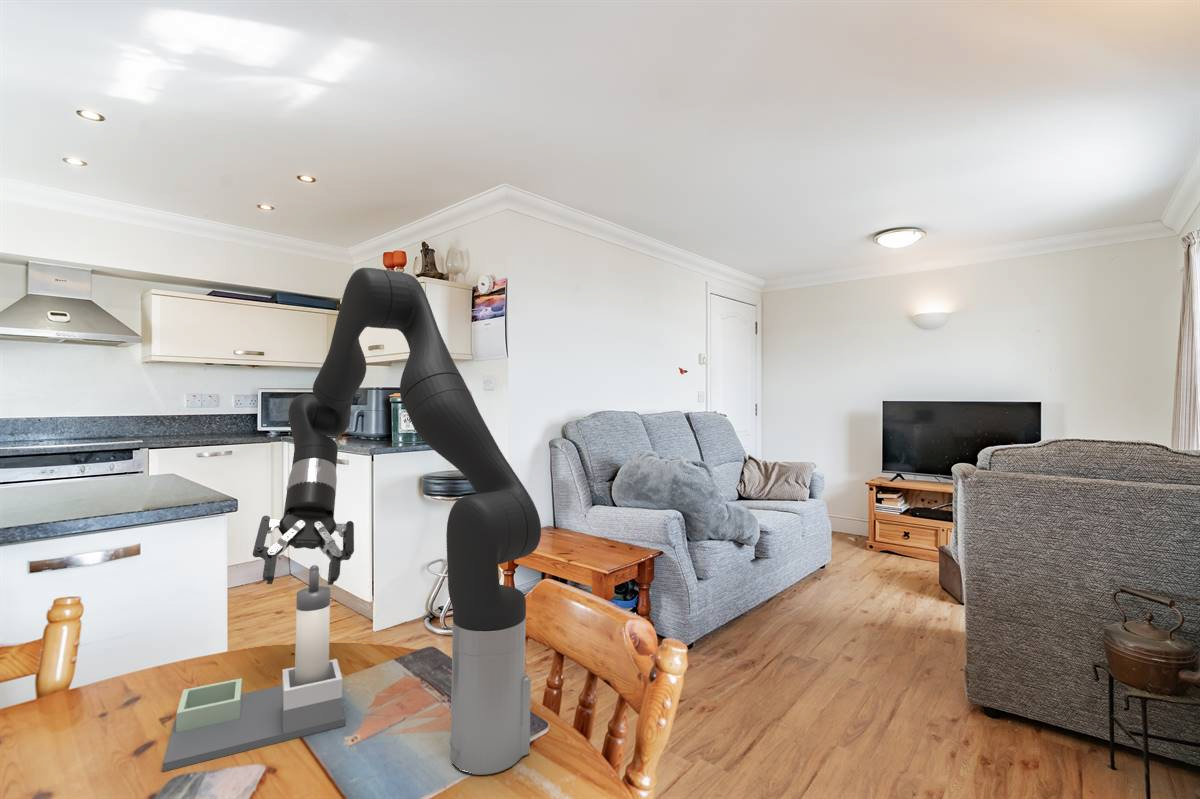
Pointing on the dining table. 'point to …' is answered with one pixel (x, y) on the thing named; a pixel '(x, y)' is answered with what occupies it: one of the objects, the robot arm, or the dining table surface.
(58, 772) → the dining table surface
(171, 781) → the dining table surface
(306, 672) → the plug
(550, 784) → the dining table surface
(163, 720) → the dining table surface
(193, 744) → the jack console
